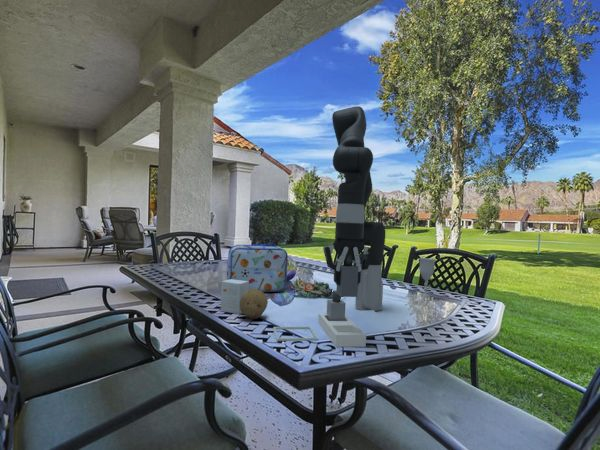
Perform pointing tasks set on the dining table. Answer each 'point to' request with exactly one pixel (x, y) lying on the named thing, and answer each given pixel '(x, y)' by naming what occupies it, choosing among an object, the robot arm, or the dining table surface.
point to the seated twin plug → (335, 308)
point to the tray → (295, 338)
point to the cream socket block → (342, 332)
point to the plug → (348, 279)
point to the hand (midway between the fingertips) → (346, 284)
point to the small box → (232, 295)
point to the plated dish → (312, 290)
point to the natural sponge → (253, 303)
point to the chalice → (426, 272)
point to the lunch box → (258, 266)
